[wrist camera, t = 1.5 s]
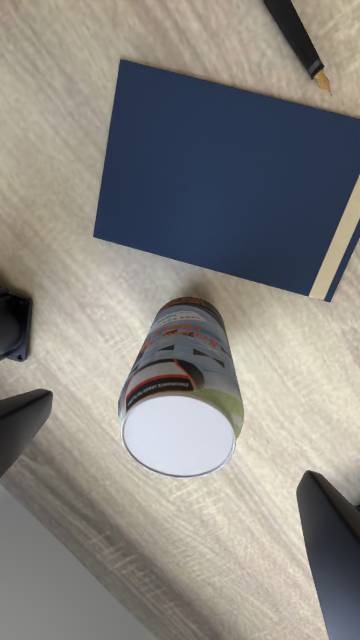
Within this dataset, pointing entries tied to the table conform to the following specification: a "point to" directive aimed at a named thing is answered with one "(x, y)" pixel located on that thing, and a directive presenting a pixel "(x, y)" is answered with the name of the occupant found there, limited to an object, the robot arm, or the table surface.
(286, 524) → the table surface
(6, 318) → the robot arm
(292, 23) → the fountain pen
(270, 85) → the table surface
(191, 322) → the beverage can
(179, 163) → the blue hardcover notebook
